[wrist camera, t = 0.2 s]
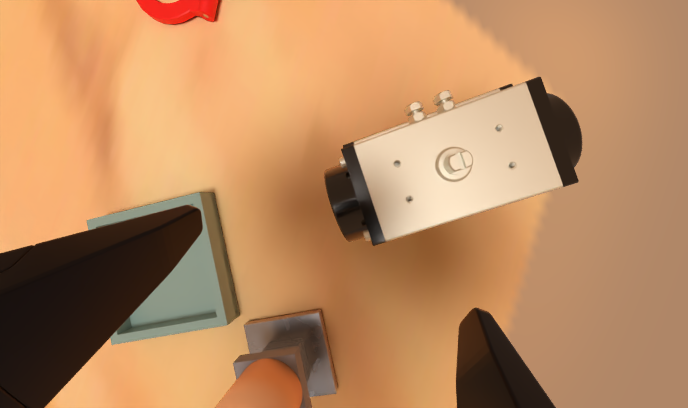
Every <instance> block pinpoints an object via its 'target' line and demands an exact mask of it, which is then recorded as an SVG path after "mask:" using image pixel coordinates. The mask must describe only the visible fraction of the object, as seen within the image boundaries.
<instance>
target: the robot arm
mask: <svg viewBox="0 0 688 408" xmlns="http://www.w3.org/2000/svg"><path fill="white" fill-rule="evenodd" d="M202 230H203V223H202V215H201V210H200V209H199V208H197V207H194V206H191V205H183V206H179V207H176V208H172V209H168V210H164V211H160V212H156V213H153V214H149V215H145V216H141V217H137V218H134V219H130V220H126V221H122V222H118V223H115V224H111V225H107V226H103V227H99V228H96V229H92V230H88V231H84V232H80V233H76V234H73V235H69V236H65V237H61V238H57V239H54V240H50V241H46V242H42V243H38V244H36V245H35V246H33V245H30V246H27V247H23V248H19V249H15V250H12V251H8V252H4V253H0V408H45V406H46V405H47V404H48V403H49V402H50V401H51V400H52V399H53V398H54V397H55V396H56V395H57V394H58V393H59V392H60V390H61V389H62V388H63V387H64V386H65V385H66V384H67V383H68V382H69V381H70V380H71V379H72V378H73V377H74V375H75V374H76V373H77V372H78V371H79V370H80V369H81V368H82V367H83V366H84V365H85V364H86V363H87V362H88V361H89V359H90V358H91V357H92V356H93V355H94V354H95V353H96V352H97V351H98V350H99V349H100V348H101V347H102V346H103V345H104V343H105V342H106V341H107V340H108V339H109V338H110V337H111V336H112V335H113V334H114V333H115V332H116V331H117V330H118V329H119V327H120V326H121V325H122V324H123V323H124V322H125V321H126V320H127V319H128V318H129V317H130V316H131V315H132V314H133V313H134V311H135V310H136V309H137V308H138V307H139V306H140V305H141V304H142V303H143V302H144V301H145V300H146V299H147V298H148V297H149V295H150V294H151V293H152V292H153V291H154V290H155V289H156V288H157V287H158V286H159V285H160V284H161V283H162V282H163V281H164V279H165V278H166V277H167V276H168V275H169V274H170V273H171V272H172V271H173V269H174V268H175V267H176V266H177V264H178V263H179V262H180V260H181V259H182V258H183V256H184V255H185V254H186V253H187V251H188V250H189V249H190V247H191V246H192V245H193V243H194V242H195V241H196V240H197V238H198V237H199V236H200V234H201V232H202ZM456 394H457V408H556V407H555V406H554V405H553V403H552V402H551V400H550V399H549V397H548V396H547V394H546V393H545V391H544V390H543V389H542V387H541V386H540V384H539V383H538V381H537V380H536V379H535V377H534V376H533V374H532V373H531V371H530V370H529V368H528V367H527V366H526V364H525V363H524V362H523V360H522V358H521V357H520V356H519V354H518V353H517V351H516V350H515V348H514V347H513V345H512V344H511V343H510V341H509V340H508V338H507V337H506V335H505V334H504V333H503V331H502V330H501V328H500V327H499V325H498V324H497V322H496V321H495V320H494V318H493V317H492V315H491V314H490V313H489V312H487V311H484V310H482V309H479V308H473V309H472V310H471V311H470V312H469V313H468V314H467V316H466V317H465V318H464V319H463V320H462V322H461V323H460V326H459V335H458V353H457V370H456Z"/></svg>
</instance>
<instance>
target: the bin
mask: <svg viewBox="0 0 688 408" xmlns="http://www.w3.org/2000/svg"><path fill="white" fill-rule="evenodd" d="M183 205H191V206H194V207H197V208H199V209H200V210H201V215H202V223H203V230H202V232H201V234H200V236H199V237H198V238H197V240H196V241H195V242H194V243H193V245H192V246H191V247H190V249H189V250H188V251H187V253H186V254H185V255H184V256H183V258H182V259H181V260H180V262H179V263H178V264H177V266H176V267H175V268H174V269H173V271H172V272H171V273H170V274H169V275H168V276H167V277H166V278H165V279H164V281H163V282H162V283H161V284H160V285H159V286H158V287H157V288H156V289H155V290H154V291H153V292H152V293H151V294H150V295H149V297H148V298H147V299H146V300H145V301H144V302H143V303H142V304H141V305H140V306H139V307H138V308H137V309H136V310H135V311H134V313H133V314H132V315H131V316H130V317H129V318H128V319H127V320H126V321H125V322H124V323H123V324H122V325H121V326H120V327H119V329H118V330H117V331H116V332H115V333H114V334H113V335H112V336H111V337H110V339H111V344H112V345H114V344H120V343H126V342H132V341H137V340H143V339H149V338H155V337H161V336H167V335H173V334H179V333H184V332H190V331H196V330H202V329H208V328H214V327H220V326H225V325H228V324H230V323H231V322H232V321H233V320H234V319H236V318H237V317H238V316H239V315H240V313H239V309H238V304H237V299H236V295H235V290H234V285H233V280H232V276H231V271H230V266H229V261H228V257H227V252H226V247H225V243H224V238H223V233H222V228H221V224H220V219H219V214H218V209H217V205H216V200H215V195H214V193H204V192H199V193H195V194H191V195H187V196H183V197H179V198H174V199H170V200H166V201H162V202H158V203H154V204H150V205H146V206H142V207H138V208H134V209H130V210H126V211H122V212H118V213H114V214H110V215H106V216H102V217H98V218H94V219H90V220H87V225H88V230H92V229H96V228H99V227H103V226H107V225H111V224H115V223H118V222H122V221H126V220H130V219H134V218H137V217H141V216H145V215H149V214H153V213H156V212H160V211H164V210H168V209H172V208H176V207H179V206H183Z"/></svg>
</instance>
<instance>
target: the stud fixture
mask: <svg viewBox="0 0 688 408" xmlns="http://www.w3.org/2000/svg"><path fill="white" fill-rule="evenodd" d="M244 328H245V333H246V337H247V342H248V347H249V352H250V354H252V353H258V352H265V351H271V350H278V349H285V348H291V347H298V346H299V350H300V354H301V359H302V364H303V368H304V373H305V377H306V382H307V387H308V391H309V396H310V397H313V396H321V395H329V394H336V393H337V388H338V385H337V381H336V376H335V372H334V367H333V362H332V358H331V353H330V349H329V344H328V340H327V335H326V330H325V326H324V321H323V317H322V312H321V309H318V310H312V311H306V312H300V313H294V314H288V315H283V316H277V317H271V318H265V319H259V320H253V321H248V322H247V323H246V324H245V325H244Z"/></svg>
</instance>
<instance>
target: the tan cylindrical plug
mask: <svg viewBox="0 0 688 408" xmlns="http://www.w3.org/2000/svg"><path fill="white" fill-rule="evenodd" d="M233 365H234V370H235V375H236V379H237V380H236V381H235V383H234V384H233V385H232V386H231V388H230V389H229V390H228V391H227V393H226V394H225V395H224V396H223V398H222V399H221V400H220V401H219V403H218V404H217V405H216V407H215V408H312V405H311V401H310V396H309V391H308V387H307V382H306V377H305V373H304V368H303V364H302V359H301V354H300V350H299V346H298V347H291V348H285V349H278V350H271V351H265V352H258V353H252V354H245V355H240V356H239V357H238V358H237V359H236V360H235V362H234V363H233Z"/></svg>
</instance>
